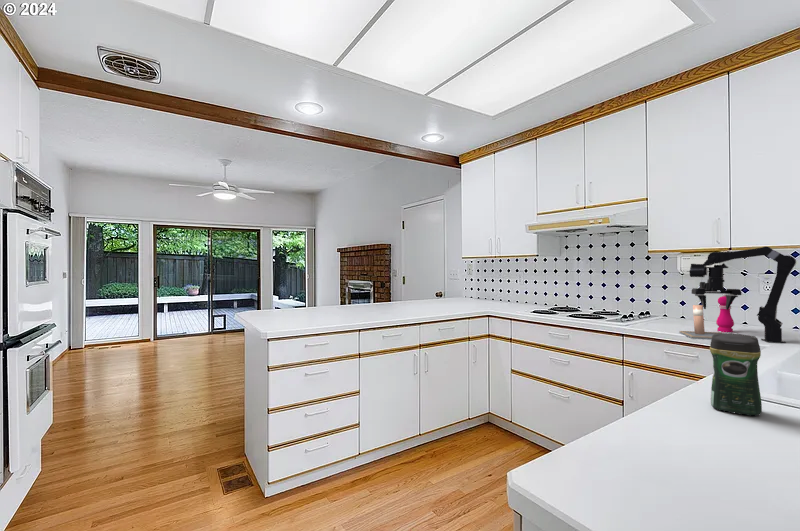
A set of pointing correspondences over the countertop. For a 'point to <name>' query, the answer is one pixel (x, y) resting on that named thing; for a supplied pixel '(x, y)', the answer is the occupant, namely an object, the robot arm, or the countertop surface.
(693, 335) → the slate board
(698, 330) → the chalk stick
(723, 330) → the pepper mill
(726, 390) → the coffee jar
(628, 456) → the countertop surface
